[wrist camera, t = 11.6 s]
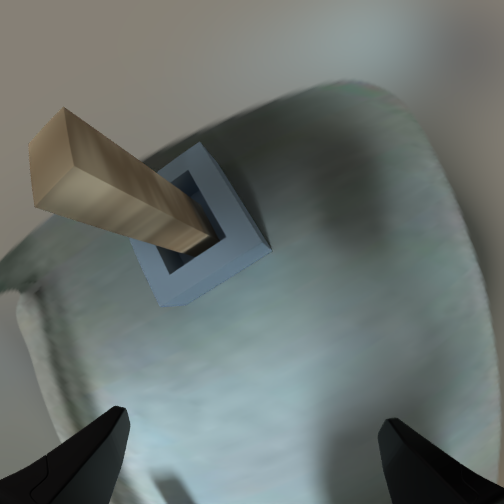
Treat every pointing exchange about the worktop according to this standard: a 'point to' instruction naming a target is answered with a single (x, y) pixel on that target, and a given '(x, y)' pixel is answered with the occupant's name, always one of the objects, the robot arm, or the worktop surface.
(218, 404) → the worktop surface
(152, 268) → the blue-grey socket block
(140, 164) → the slat
